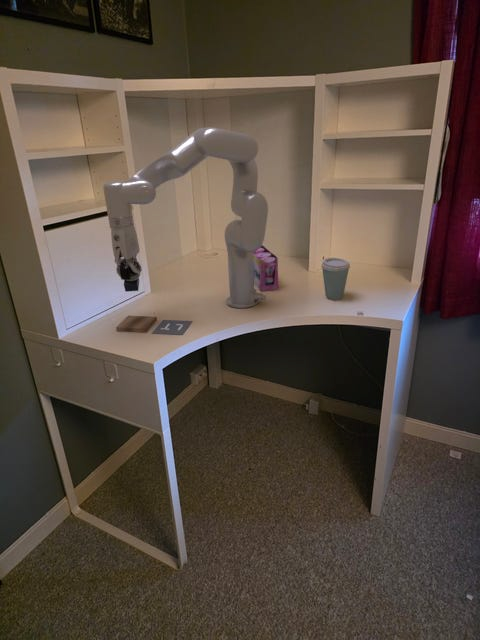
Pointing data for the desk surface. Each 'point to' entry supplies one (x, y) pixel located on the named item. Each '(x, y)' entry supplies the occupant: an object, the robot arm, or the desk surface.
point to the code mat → (172, 327)
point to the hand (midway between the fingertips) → (129, 276)
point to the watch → (132, 275)
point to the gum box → (265, 269)
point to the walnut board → (136, 324)
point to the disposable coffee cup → (335, 277)
